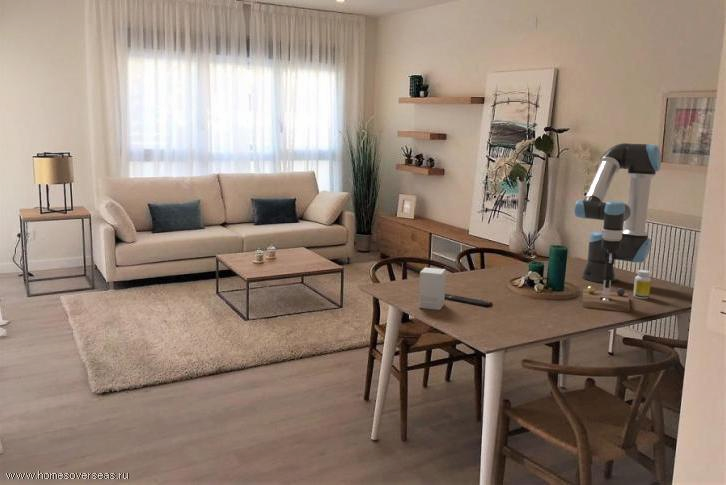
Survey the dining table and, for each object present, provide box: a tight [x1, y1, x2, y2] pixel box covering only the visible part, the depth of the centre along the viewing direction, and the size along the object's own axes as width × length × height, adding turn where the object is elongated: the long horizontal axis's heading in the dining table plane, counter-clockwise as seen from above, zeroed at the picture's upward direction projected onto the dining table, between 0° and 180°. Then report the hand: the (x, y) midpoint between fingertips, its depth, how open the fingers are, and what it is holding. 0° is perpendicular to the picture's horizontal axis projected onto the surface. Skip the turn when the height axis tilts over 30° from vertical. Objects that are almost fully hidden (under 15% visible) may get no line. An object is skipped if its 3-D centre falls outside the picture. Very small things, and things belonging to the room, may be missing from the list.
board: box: [581, 287, 631, 313], centre depth 269 cm, size 20×18×2 cm
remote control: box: [445, 293, 493, 308], centre depth 267 cm, size 5×24×1 cm, turn 58°
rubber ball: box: [616, 287, 626, 295], centre depth 271 cm, size 3×3×3 cm
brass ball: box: [586, 285, 596, 294], centre depth 273 cm, size 3×3×3 cm
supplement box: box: [418, 266, 447, 311], centre depth 258 cm, size 9×9×15 cm
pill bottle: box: [632, 269, 652, 300], centre depth 277 cm, size 6×6×12 cm
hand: (606, 294), depth 267 cm, fingers closed
